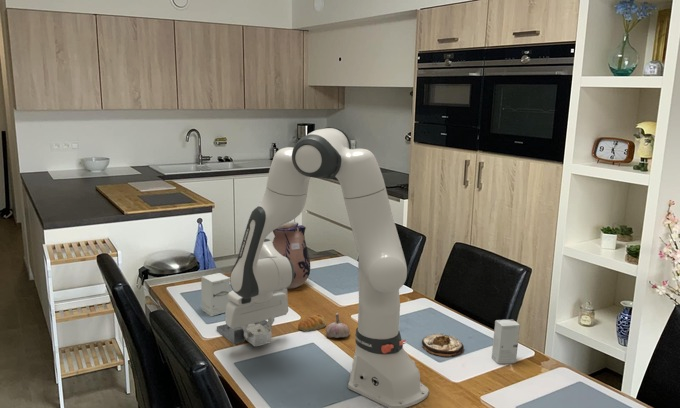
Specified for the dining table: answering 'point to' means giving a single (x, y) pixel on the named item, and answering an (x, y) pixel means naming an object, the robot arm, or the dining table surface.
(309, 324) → the pastry
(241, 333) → the gunmetal leaf
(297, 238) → the ceramic pitcher
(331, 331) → the garlic bulb
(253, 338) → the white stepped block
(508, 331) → the skincare box
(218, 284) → the supplement box
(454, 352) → the brown flat two-tone disc
